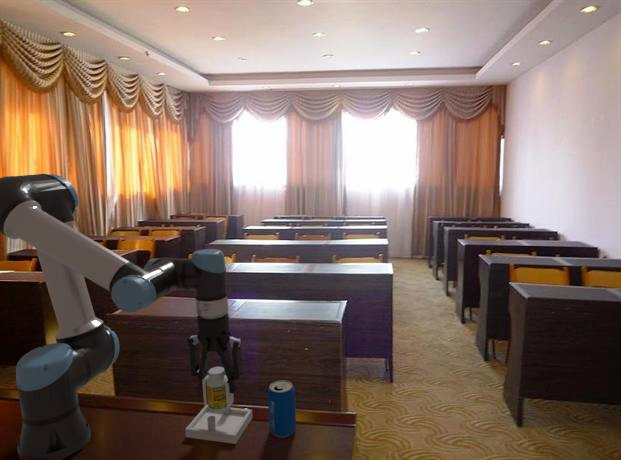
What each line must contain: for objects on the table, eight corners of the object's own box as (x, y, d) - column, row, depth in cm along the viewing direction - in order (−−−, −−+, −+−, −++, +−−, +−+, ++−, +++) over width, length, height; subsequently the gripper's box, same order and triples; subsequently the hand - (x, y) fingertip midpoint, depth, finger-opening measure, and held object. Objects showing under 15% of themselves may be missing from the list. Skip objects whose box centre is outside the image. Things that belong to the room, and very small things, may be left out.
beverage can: (264, 432, 111) (262, 386, 109) (283, 420, 116) (281, 376, 114) (282, 442, 107) (280, 395, 105) (301, 430, 112) (299, 385, 110)
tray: (186, 437, 110) (184, 417, 109) (206, 412, 121) (205, 394, 120) (235, 443, 107) (234, 423, 106) (252, 417, 117) (251, 399, 117)
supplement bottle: (225, 398, 116) (222, 363, 115) (233, 407, 112) (231, 371, 110) (205, 404, 114) (202, 369, 112) (212, 414, 109) (210, 377, 108)
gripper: (170, 317, 107) (178, 407, 111) (242, 321, 103) (248, 415, 107) (185, 306, 115) (192, 391, 118) (254, 310, 110) (259, 398, 114)
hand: (219, 402), depth 113 cm, fingers closed on supplement bottle, 5 cm apart
